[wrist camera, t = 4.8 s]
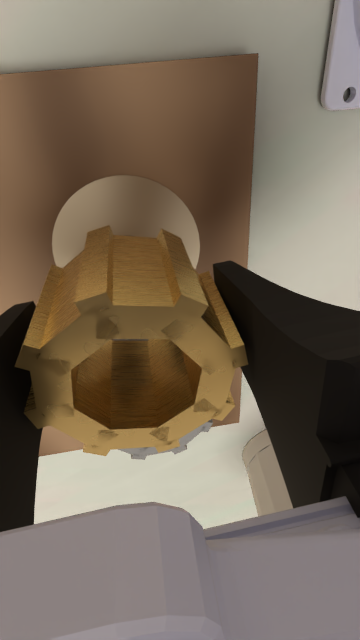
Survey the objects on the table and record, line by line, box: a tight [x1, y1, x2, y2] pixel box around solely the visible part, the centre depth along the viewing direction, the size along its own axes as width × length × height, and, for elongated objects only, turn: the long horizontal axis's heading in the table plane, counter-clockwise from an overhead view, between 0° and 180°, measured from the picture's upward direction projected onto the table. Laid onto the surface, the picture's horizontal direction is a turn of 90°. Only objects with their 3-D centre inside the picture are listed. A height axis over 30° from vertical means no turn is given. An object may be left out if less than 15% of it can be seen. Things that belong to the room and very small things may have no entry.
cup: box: [242, 430, 293, 517], centre depth 23 cm, size 8×8×12 cm
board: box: [0, 53, 258, 456], centre depth 15 cm, size 16×20×6 cm
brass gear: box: [15, 225, 248, 456], centre depth 10 cm, size 6×6×4 cm
